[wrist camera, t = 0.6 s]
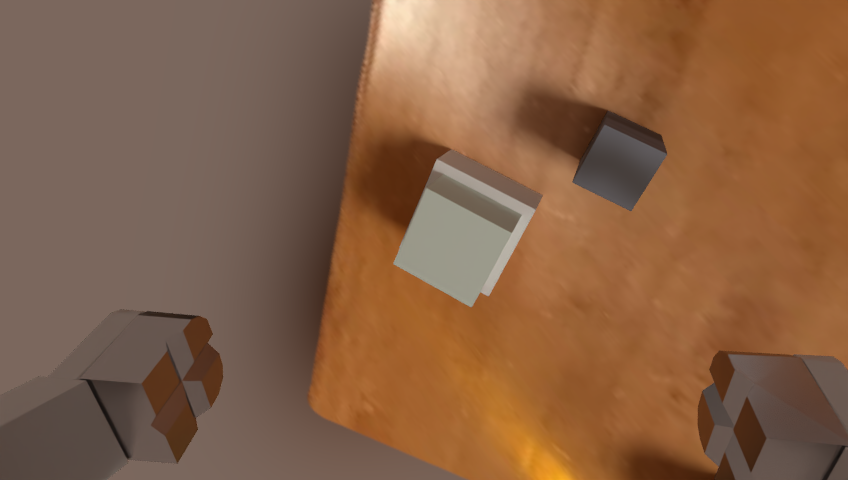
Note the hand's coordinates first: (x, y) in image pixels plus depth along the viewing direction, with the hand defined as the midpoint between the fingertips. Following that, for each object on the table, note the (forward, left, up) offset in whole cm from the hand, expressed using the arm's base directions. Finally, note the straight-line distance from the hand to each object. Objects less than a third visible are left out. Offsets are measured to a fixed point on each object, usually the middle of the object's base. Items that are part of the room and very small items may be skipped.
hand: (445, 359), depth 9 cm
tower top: (+15, -4, -39) cm, 42 cm away
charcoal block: (+3, +4, -44) cm, 44 cm away
